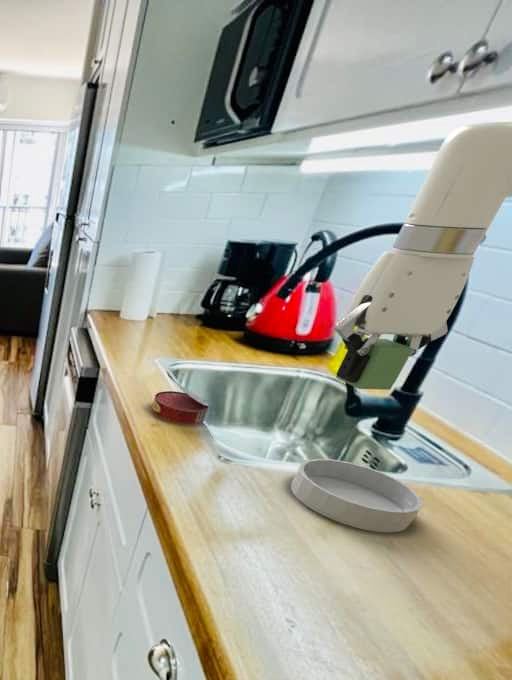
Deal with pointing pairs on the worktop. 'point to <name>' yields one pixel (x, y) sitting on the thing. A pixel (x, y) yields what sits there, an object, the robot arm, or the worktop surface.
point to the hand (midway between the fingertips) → (364, 378)
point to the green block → (382, 365)
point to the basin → (356, 495)
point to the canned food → (180, 406)
